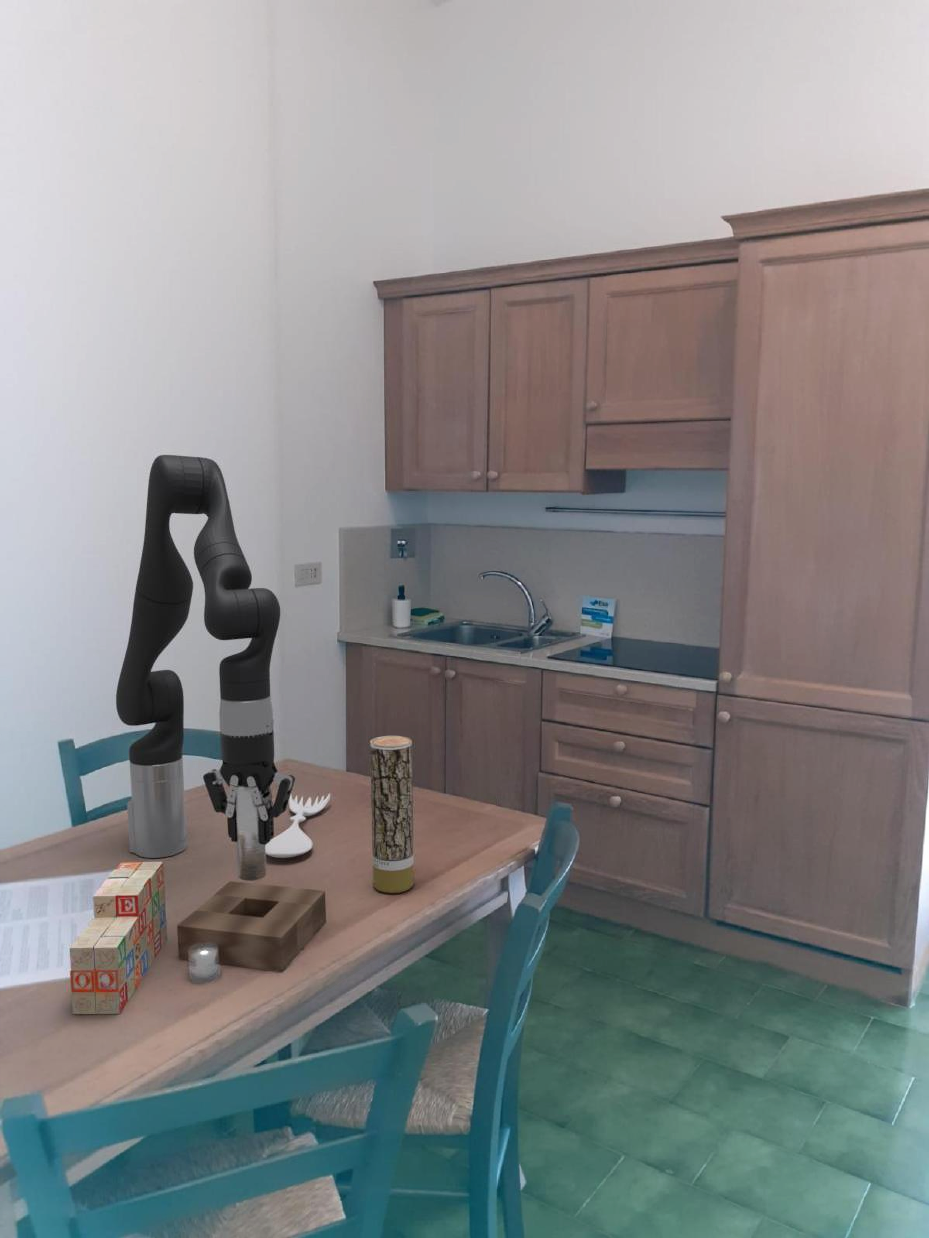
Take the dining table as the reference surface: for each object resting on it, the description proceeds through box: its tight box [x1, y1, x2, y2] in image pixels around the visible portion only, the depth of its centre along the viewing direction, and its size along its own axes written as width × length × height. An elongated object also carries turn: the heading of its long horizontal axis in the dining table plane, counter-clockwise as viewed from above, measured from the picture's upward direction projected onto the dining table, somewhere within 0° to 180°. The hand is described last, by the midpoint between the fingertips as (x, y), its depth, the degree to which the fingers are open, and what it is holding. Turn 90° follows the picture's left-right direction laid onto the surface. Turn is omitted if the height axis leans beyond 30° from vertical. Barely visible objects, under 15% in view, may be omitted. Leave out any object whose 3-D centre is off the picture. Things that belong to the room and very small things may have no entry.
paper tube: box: [369, 735, 415, 894], centre depth 165 cm, size 7×7×25 cm
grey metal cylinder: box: [188, 942, 221, 984], centre depth 137 cm, size 4×4×4 cm
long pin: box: [236, 785, 267, 882], centre depth 146 cm, size 4×4×14 cm
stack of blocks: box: [69, 861, 168, 1015], centre depth 138 cm, size 21×6×12 cm, turn 1°
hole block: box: [176, 880, 327, 972], centre depth 148 cm, size 16×16×5 cm
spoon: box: [265, 792, 332, 859], centre depth 192 cm, size 9×32×4 cm, turn 0°
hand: (251, 840), depth 146 cm, fingers closed on long pin, 4 cm apart
